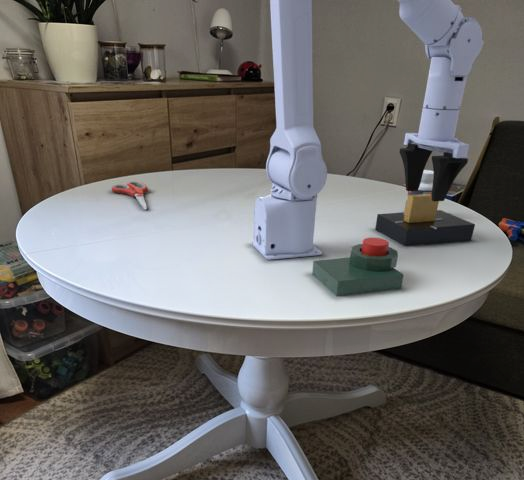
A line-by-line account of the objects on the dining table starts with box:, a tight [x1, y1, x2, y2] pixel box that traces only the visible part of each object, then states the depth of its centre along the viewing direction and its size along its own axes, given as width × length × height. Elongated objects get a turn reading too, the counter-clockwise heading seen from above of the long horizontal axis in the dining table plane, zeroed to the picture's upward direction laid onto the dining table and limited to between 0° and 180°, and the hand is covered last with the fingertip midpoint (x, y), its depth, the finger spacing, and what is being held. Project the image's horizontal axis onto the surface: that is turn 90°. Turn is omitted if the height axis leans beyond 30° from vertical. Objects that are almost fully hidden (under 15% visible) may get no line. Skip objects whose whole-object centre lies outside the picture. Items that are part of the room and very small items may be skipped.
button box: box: [311, 243, 405, 297], centre depth 68 cm, size 11×8×4 cm
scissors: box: [111, 181, 149, 211], centre depth 107 cm, size 8×21×2 cm, turn 35°
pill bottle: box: [403, 169, 434, 212], centre depth 99 cm, size 5×5×9 cm
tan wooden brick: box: [404, 193, 440, 223], centre depth 85 cm, size 6×2×5 cm, turn 109°
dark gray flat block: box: [374, 209, 476, 247], centre depth 88 cm, size 14×11×3 cm
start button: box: [361, 237, 390, 256], centre depth 68 cm, size 4×4×2 cm
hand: (424, 195), depth 84 cm, fingers open, 7 cm apart
